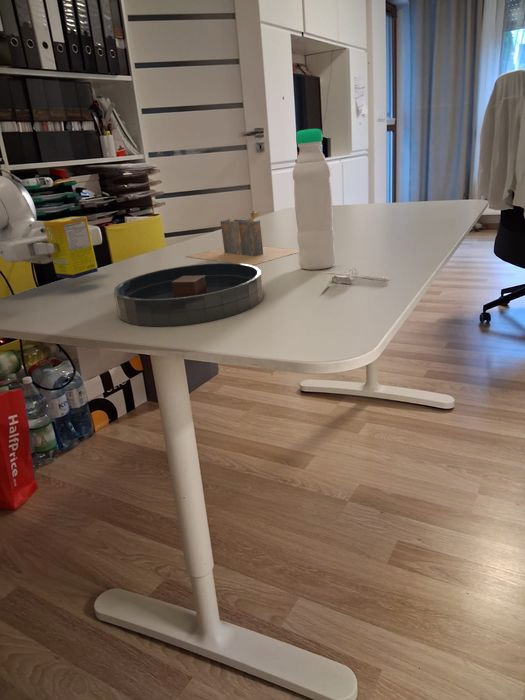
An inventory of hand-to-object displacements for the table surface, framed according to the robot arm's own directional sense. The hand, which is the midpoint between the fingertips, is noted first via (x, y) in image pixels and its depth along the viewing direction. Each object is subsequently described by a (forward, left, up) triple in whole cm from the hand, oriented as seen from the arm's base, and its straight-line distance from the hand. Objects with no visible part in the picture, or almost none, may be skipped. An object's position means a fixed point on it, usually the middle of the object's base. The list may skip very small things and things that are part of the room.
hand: (73, 244), depth 101 cm
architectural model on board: (+37, -10, -9) cm, 40 cm away
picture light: (+22, -48, -9) cm, 54 cm away
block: (0, -32, -8) cm, 33 cm away
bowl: (0, -32, -9) cm, 33 cm away
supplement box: (0, +1, -6) cm, 6 cm away
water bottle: (+30, -36, -9) cm, 48 cm away
